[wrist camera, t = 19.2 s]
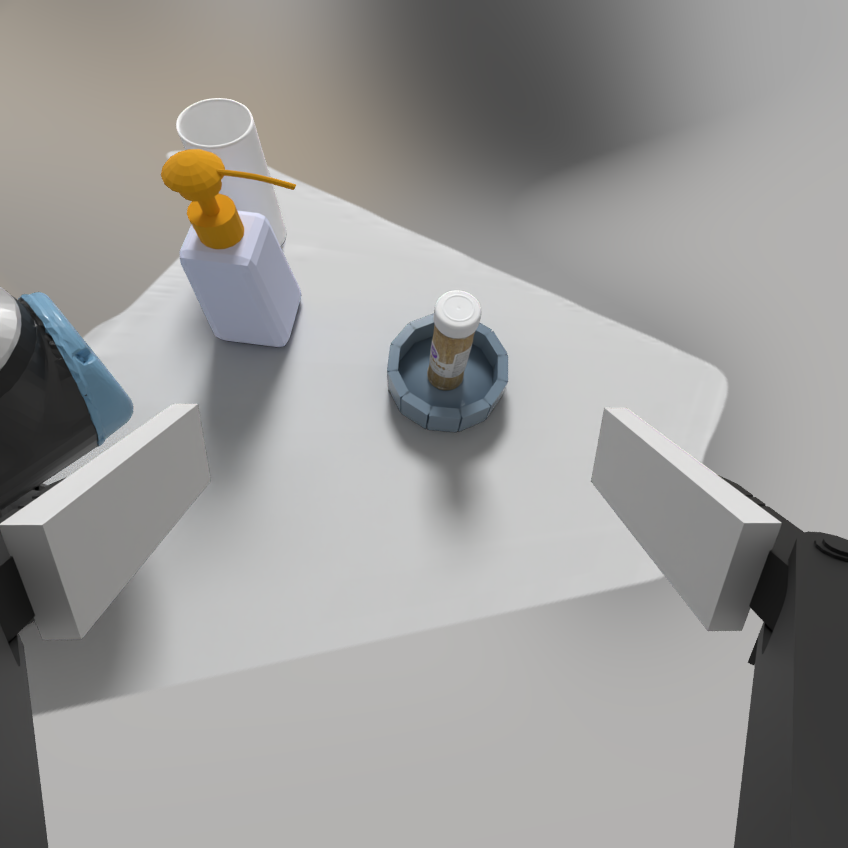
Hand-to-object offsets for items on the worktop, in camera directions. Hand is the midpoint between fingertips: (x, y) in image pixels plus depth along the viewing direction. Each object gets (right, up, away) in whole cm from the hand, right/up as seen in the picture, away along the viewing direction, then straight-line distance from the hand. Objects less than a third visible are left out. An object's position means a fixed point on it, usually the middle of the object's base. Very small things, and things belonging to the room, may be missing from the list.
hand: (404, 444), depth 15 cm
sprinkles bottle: (+3, +6, +41) cm, 42 cm away
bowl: (+3, +6, +42) cm, 42 cm away
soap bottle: (-18, +14, +44) cm, 50 cm away
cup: (-23, +28, +50) cm, 61 cm away
